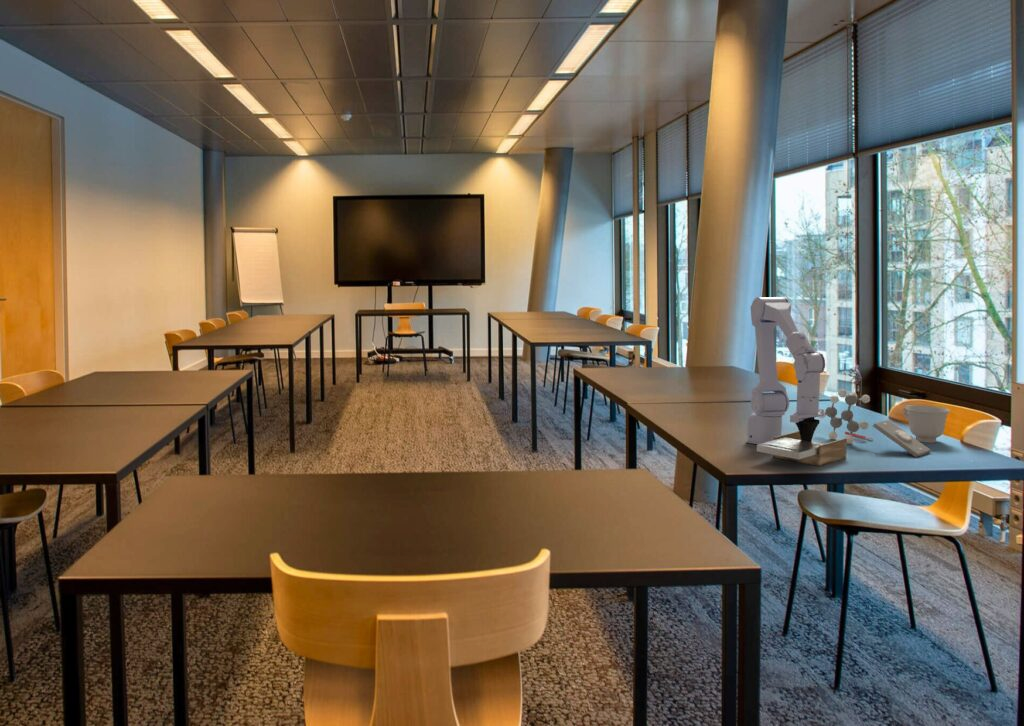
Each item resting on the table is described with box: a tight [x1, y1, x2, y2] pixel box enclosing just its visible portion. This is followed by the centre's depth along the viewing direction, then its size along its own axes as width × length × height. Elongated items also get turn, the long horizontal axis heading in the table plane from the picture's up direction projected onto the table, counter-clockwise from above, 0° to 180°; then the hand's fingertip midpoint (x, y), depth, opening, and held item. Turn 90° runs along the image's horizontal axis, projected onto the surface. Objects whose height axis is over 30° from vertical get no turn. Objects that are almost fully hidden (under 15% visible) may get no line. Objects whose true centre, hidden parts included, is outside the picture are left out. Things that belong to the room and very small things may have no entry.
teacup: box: [902, 404, 951, 443], centre depth 239 cm, size 12×15×10 cm
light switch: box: [872, 419, 932, 458], centre depth 225 cm, size 8×6×14 cm
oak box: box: [772, 430, 847, 467], centre depth 217 cm, size 14×14×6 cm
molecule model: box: [818, 388, 874, 445], centre depth 240 cm, size 20×16×16 cm
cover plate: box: [756, 437, 824, 459], centre depth 211 cm, size 12×14×2 cm
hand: (806, 444), depth 216 cm, fingers closed
